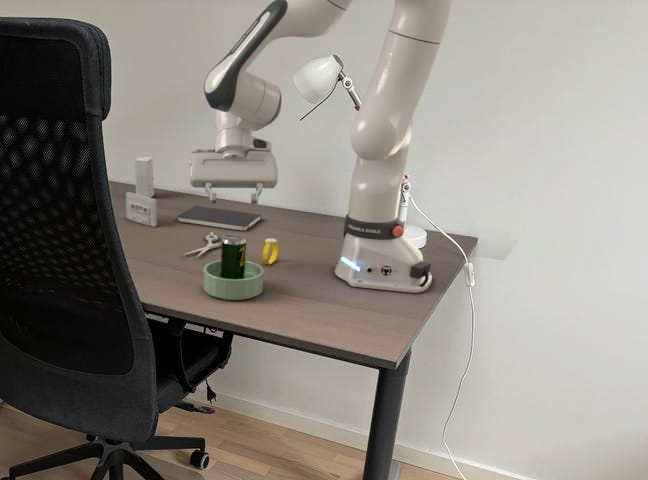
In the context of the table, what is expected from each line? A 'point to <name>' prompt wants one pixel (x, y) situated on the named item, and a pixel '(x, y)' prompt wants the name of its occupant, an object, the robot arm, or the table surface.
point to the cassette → (139, 215)
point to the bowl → (233, 282)
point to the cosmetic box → (144, 176)
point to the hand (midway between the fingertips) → (233, 202)
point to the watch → (266, 251)
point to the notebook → (219, 218)
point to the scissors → (210, 245)
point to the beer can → (233, 256)
